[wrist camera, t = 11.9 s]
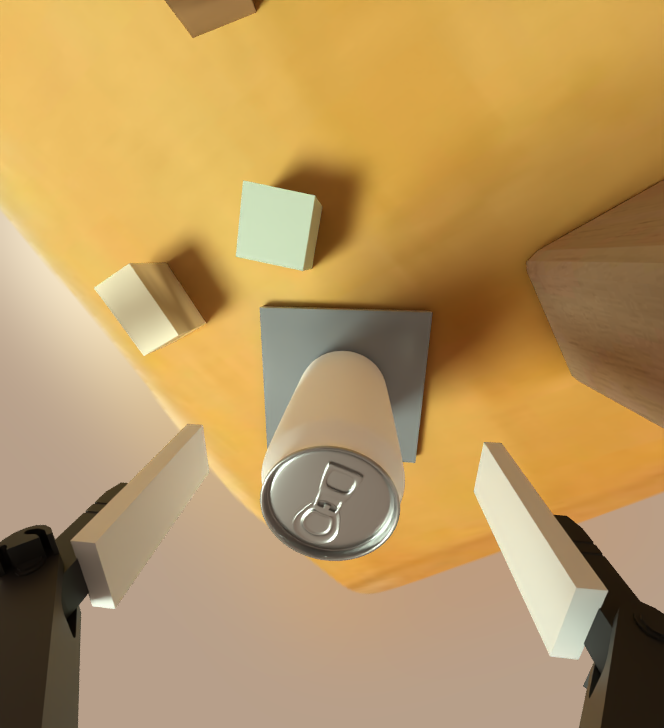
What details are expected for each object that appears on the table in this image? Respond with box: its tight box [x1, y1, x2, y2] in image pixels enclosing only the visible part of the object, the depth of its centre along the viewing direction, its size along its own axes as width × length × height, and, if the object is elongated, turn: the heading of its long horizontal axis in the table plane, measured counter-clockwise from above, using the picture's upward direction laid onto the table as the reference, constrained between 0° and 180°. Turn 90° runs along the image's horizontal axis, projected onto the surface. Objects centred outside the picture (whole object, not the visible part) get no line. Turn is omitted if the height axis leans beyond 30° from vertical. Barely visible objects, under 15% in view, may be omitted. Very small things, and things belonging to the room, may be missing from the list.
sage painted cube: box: [236, 181, 322, 271], centre depth 20 cm, size 4×4×4 cm
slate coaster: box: [260, 306, 433, 463], centre depth 24 cm, size 12×12×1 cm
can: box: [260, 351, 405, 561], centre depth 18 cm, size 6×6×12 cm
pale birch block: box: [94, 263, 206, 356], centre depth 22 cm, size 5×3×4 cm, turn 29°
